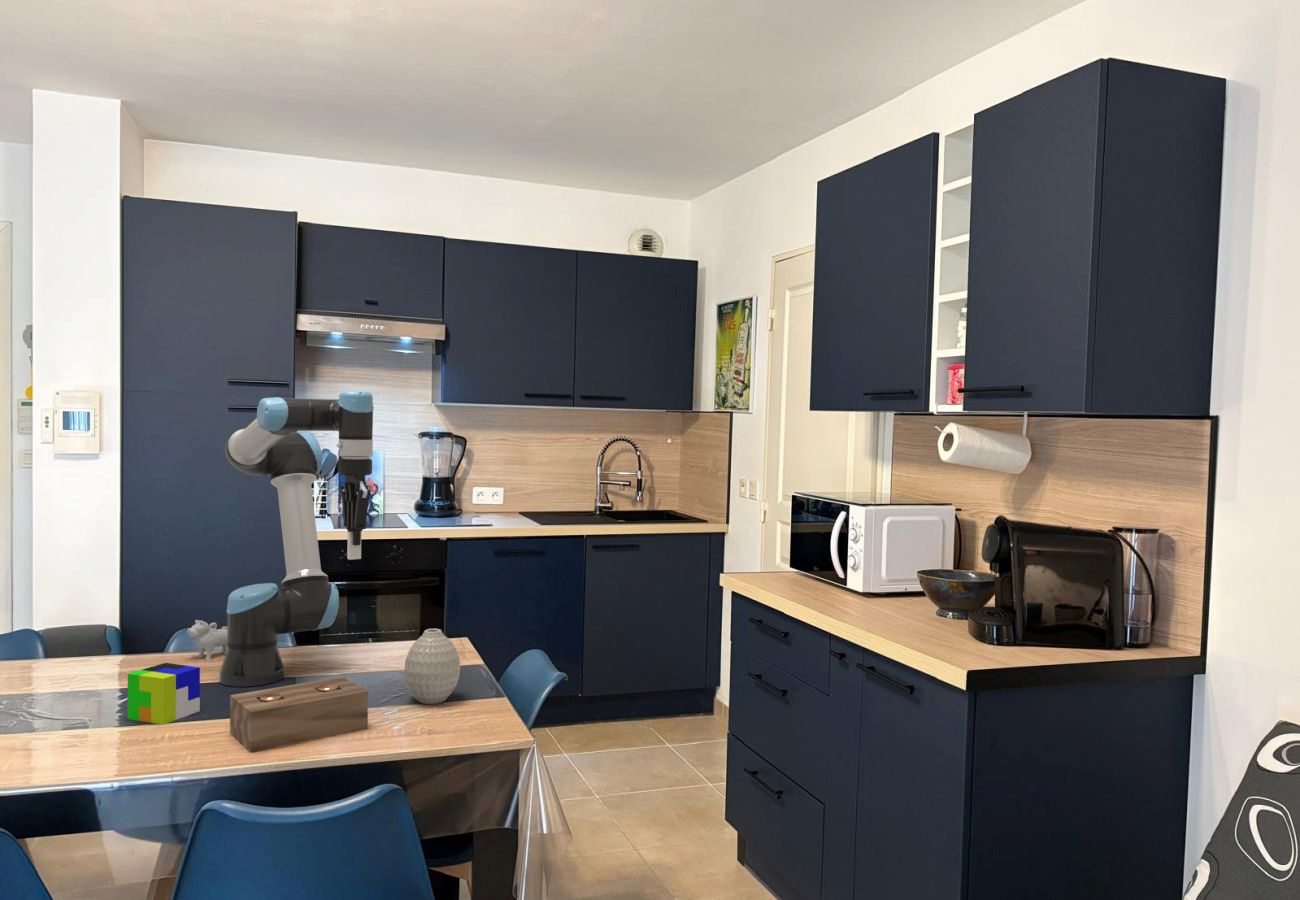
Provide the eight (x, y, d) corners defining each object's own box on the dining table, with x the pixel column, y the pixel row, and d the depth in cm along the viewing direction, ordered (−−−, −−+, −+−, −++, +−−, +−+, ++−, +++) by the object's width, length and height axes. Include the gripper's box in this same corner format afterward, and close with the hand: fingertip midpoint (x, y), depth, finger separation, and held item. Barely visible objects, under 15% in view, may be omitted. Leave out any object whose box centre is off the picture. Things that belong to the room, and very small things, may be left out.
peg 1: (257, 731, 192) (257, 696, 192) (277, 728, 195) (277, 692, 194) (263, 737, 189) (263, 700, 189) (283, 733, 192) (283, 697, 191)
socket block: (230, 733, 193) (230, 695, 193) (342, 711, 209) (342, 676, 209) (250, 752, 183) (250, 712, 182) (367, 728, 198) (367, 691, 198)
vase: (470, 697, 222) (471, 627, 221) (437, 711, 210) (437, 638, 209) (427, 689, 227) (428, 622, 226) (392, 703, 215) (393, 632, 215)
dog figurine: (183, 659, 251) (182, 620, 250) (227, 650, 261) (227, 613, 261) (193, 663, 248) (193, 623, 247) (238, 653, 258) (238, 615, 258)
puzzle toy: (199, 711, 208) (200, 667, 207) (163, 724, 198) (163, 678, 198) (165, 706, 211) (165, 662, 211) (127, 719, 201) (127, 673, 201)
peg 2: (315, 720, 200) (315, 686, 200) (333, 717, 202) (333, 683, 202) (321, 725, 197) (322, 690, 196) (340, 722, 199) (340, 687, 199)
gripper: (329, 456, 217) (328, 556, 218) (349, 459, 207) (348, 564, 208) (360, 456, 222) (359, 553, 223) (382, 459, 212) (380, 561, 213)
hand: (354, 558), depth 216 cm, fingers closed
